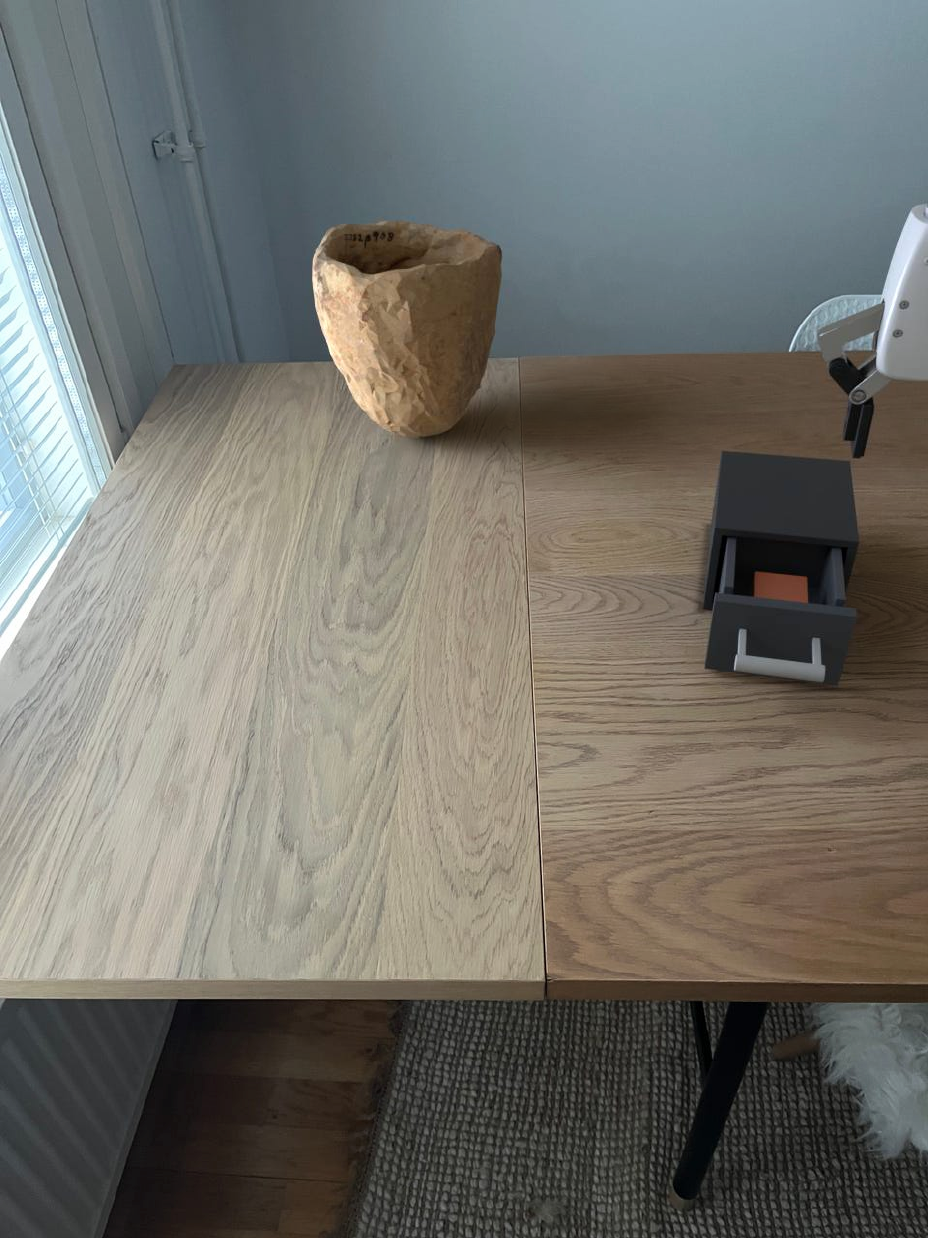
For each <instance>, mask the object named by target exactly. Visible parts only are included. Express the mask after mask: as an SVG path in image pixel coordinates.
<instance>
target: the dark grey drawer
mask: <svg viewBox="0 0 928 1238" xmlns="http://www.w3.org/2000/svg"><path fill="white" fill-rule="evenodd" d="M755 572H765V573H775V574H784V575H793V576H802V577H807V581H808V603H803V602H794V601H785V600H777V599H768V598H759V597H750V595H751V590H752V585H753V579H754V574H755ZM846 597H847V595H845V585H844V573H843V562H842V551H841V547H836V546H826V545H816V544H806V543H796V542H786V541H776V540H766V539H756V538H746V537H736V536H726V541H725V547H724V554H723V560H722V566H721V573H720V579H719V592H718V593H715V599H714V605H713V610H712V612H711V619H710V625H709V632H708V637H707V639H708V640H707V644H706V651H705V658H704V667H703V669H704V670H709V671H710V670H711V671H716V672H717V671H718V672H724V673H733V674H740V675H748V676H755V677H756V676H757V677H765V678H771V679H779V680H786V681H794V682H795V681H796V682H802V683H809V684H817V685H824V686H832V687H839V684H840V681H841V676H842V672H843V669H844V665H845V662H846V658H847V655H848V651H849V647H850V644H851V641H852V637H853V633H854V630H855V627H856V624H857V623H856V622H857V619H858V613H857V612H858V611H857V608H856V607H846V605H845V604H846V601H847V598H846Z"/></svg>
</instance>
